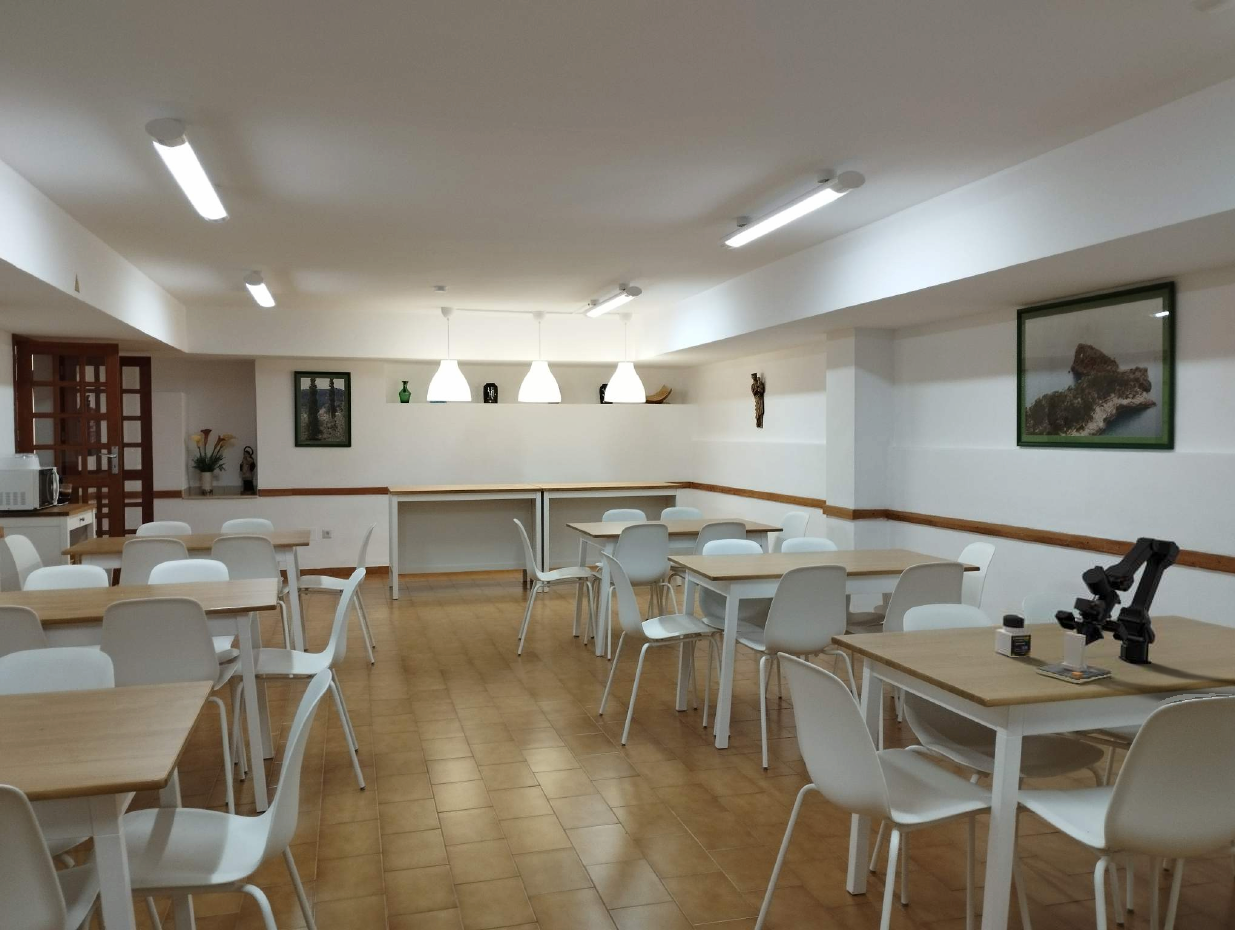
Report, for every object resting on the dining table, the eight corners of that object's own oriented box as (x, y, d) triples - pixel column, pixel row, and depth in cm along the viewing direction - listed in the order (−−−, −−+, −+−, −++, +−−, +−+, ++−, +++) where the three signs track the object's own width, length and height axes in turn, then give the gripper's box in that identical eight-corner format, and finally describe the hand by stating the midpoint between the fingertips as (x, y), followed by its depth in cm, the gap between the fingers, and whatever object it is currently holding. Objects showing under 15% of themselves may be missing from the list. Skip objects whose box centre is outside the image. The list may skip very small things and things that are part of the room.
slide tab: (1069, 665, 253) (1070, 631, 252) (1086, 670, 248) (1088, 635, 248) (1060, 667, 251) (1062, 632, 250) (1078, 671, 246) (1079, 636, 246)
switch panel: (1069, 665, 259) (1070, 658, 259) (1110, 676, 249) (1111, 668, 249) (1036, 673, 251) (1036, 665, 250) (1077, 684, 240) (1077, 675, 240)
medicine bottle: (1010, 658, 267) (1012, 618, 266) (994, 652, 273) (996, 613, 273) (1030, 657, 268) (1032, 617, 268) (1014, 651, 275) (1015, 612, 275)
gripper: (1059, 582, 260) (1035, 623, 255) (1124, 593, 244) (1099, 637, 239) (1074, 606, 264) (1050, 647, 259) (1138, 619, 248) (1114, 663, 243)
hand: (1077, 648), depth 250 cm, fingers closed, pressing on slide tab
